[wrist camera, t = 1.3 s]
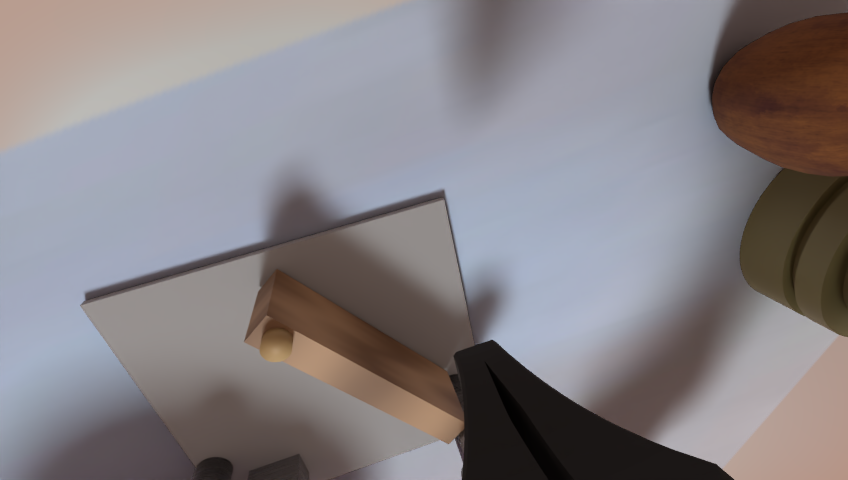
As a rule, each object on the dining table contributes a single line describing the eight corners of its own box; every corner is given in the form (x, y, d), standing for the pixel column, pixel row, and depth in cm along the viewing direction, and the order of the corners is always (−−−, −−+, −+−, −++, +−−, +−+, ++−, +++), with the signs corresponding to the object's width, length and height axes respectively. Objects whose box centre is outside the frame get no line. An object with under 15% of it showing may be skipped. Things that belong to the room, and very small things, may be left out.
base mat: (488, 417, 28) (490, 421, 27) (230, 508, 26) (229, 515, 25) (441, 197, 21) (444, 199, 20) (84, 301, 19) (80, 305, 18)
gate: (447, 371, 24) (472, 434, 20) (430, 388, 25) (451, 454, 21) (276, 268, 20) (264, 323, 15) (258, 291, 20) (241, 351, 16)
